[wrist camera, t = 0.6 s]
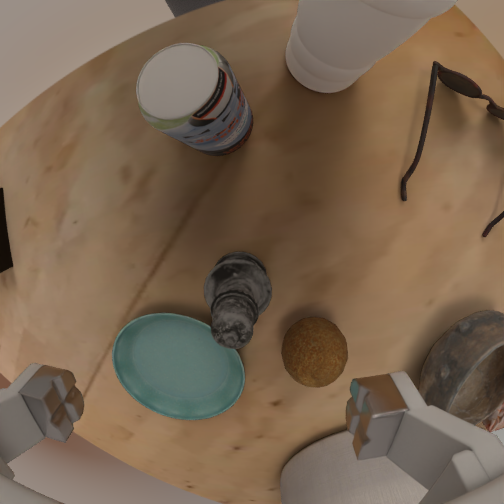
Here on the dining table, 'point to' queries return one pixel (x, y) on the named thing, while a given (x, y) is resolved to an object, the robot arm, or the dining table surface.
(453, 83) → the eyeglasses
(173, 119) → the beverage can
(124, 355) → the saucer
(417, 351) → the dining table surface
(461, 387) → the bowl
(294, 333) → the fruit
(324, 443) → the planter
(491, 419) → the food item
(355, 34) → the water bottle
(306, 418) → the dining table surface
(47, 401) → the robot arm
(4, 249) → the dial base
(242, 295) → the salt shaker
